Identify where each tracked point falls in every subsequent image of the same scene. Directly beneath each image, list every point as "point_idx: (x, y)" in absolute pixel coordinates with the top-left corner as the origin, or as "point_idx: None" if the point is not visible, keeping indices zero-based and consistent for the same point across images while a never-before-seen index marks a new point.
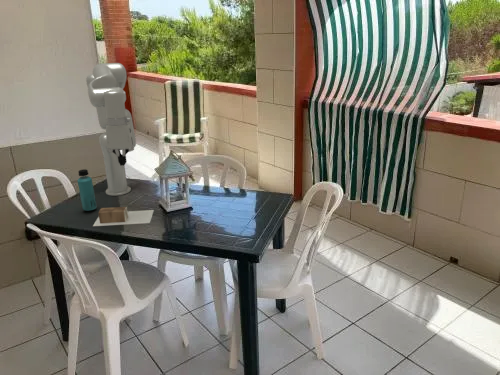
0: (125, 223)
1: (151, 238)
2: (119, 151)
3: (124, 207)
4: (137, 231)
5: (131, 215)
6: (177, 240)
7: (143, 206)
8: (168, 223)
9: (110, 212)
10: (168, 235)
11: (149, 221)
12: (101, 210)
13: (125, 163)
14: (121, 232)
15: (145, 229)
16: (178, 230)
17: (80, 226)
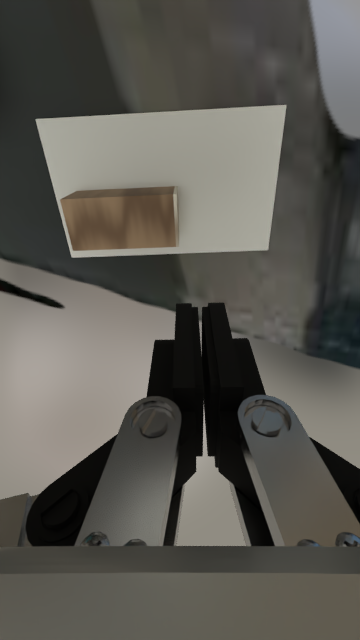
0: (181, 246)
1: (273, 339)
2: (165, 475)
3: (167, 201)
4: (230, 298)
5: (188, 168)
6: (340, 354)
7: (227, 20)
8: (333, 251)
9: (121, 248)
10: (321, 328)
11: (267, 238)
12: (74, 227)
13: (222, 305)
14: (182, 300)
15: (254, 288)
16: (355, 303)
17: (26, 247)
